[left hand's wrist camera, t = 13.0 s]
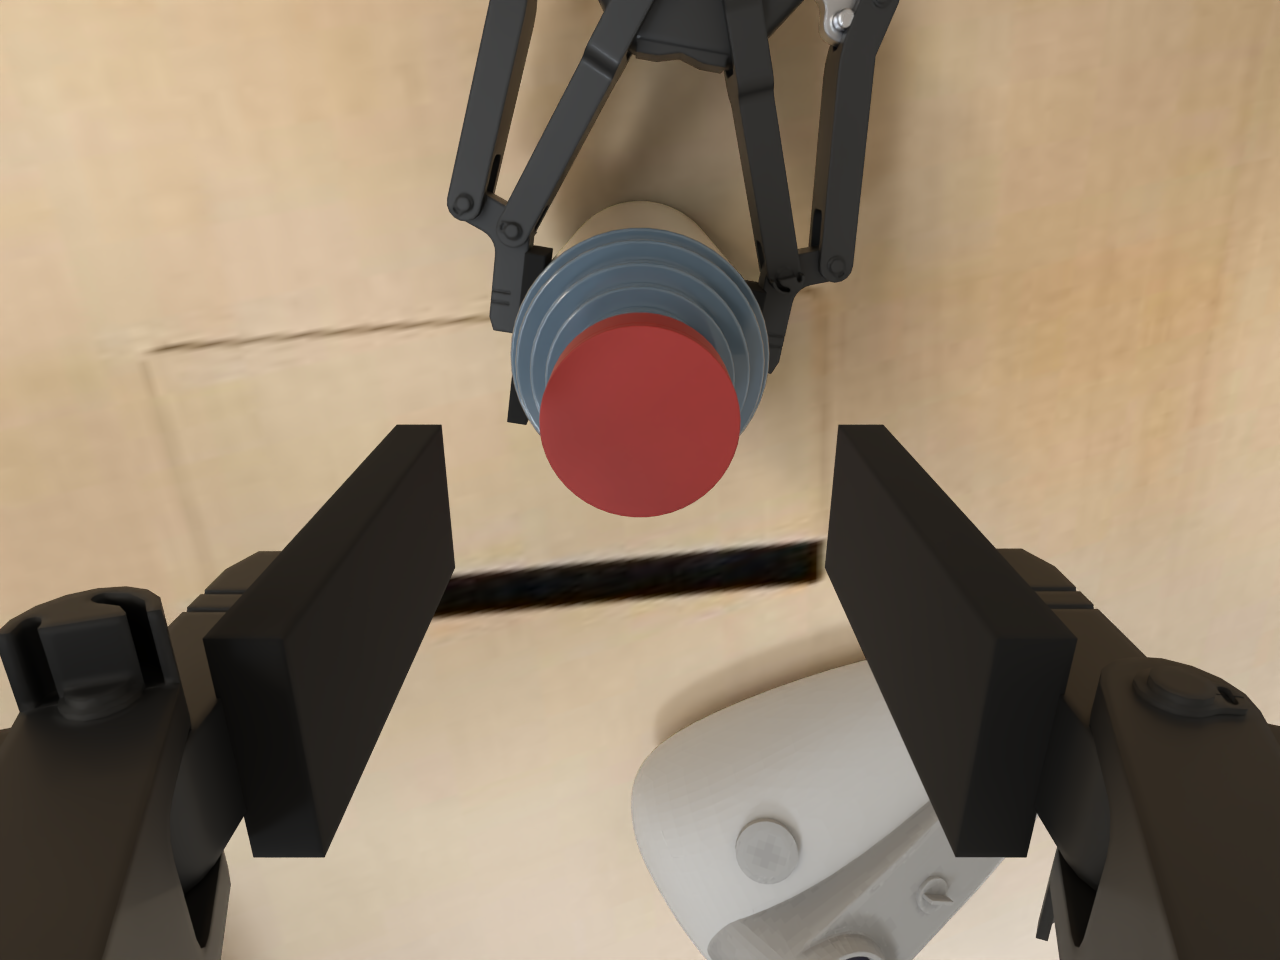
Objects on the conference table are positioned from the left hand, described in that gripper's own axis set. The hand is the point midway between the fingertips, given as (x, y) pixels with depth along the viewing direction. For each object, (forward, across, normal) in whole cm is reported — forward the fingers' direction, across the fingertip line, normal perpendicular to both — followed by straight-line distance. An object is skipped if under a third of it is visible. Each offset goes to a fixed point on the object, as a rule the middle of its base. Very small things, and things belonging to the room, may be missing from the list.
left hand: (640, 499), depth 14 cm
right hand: (+19, -1, -5) cm, 19 cm away
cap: (+4, 0, 0) cm, 4 cm away
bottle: (+25, 0, 0) cm, 25 cm away
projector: (+25, +12, -26) cm, 38 cm away
